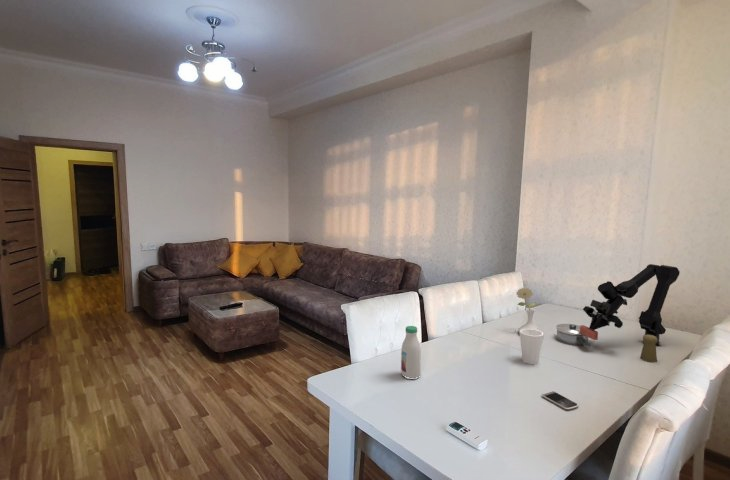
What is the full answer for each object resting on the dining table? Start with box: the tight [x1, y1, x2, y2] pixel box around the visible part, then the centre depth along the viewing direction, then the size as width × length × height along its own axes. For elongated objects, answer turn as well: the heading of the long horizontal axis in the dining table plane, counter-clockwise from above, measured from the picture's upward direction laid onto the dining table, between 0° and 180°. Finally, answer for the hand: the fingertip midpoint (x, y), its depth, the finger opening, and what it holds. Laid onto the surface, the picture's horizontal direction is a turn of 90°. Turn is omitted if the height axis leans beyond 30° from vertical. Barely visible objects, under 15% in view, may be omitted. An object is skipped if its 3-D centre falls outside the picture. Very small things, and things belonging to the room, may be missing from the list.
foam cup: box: [519, 329, 545, 365], centre depth 166 cm, size 10×9×13 cm
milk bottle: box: [400, 325, 422, 378], centre depth 152 cm, size 8×8×20 cm
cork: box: [640, 334, 658, 363], centre depth 168 cm, size 6×6×11 cm
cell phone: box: [540, 390, 579, 412], centre depth 133 cm, size 6×11×1 cm, turn 24°
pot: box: [556, 329, 591, 348], centre depth 189 cm, size 24×14×5 cm, turn 176°
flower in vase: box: [515, 287, 541, 334], centre depth 199 cm, size 13×11×25 cm
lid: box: [556, 323, 599, 341], centre depth 187 cm, size 23×15×5 cm, turn 7°
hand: (590, 329), depth 180 cm, fingers closed, pressing on lid
